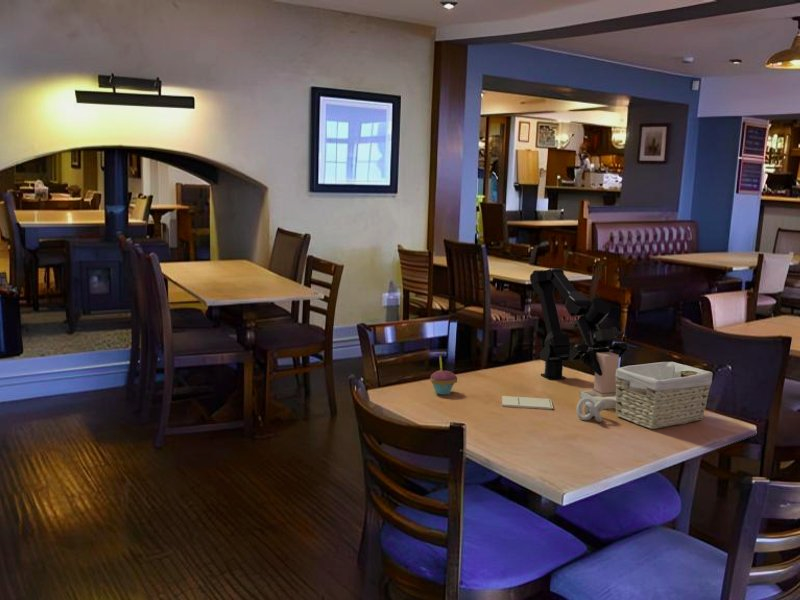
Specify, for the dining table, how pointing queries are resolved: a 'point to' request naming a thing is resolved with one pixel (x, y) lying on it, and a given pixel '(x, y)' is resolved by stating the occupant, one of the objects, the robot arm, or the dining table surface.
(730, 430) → the dining table surface
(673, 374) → the storage basket
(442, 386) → the cupcake
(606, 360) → the pinkish tall block
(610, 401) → the bill dish
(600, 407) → the knot
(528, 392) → the dining table surface
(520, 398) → the ticket book
